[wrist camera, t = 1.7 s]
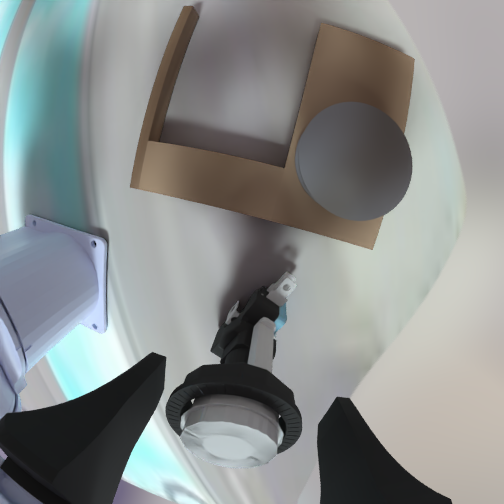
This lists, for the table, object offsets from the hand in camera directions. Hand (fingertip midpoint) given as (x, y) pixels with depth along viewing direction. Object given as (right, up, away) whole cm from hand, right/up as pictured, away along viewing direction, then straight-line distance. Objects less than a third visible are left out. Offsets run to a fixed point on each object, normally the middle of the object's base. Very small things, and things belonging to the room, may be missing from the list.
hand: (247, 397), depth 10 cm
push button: (+1, +2, +7) cm, 8 cm away
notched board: (+2, +14, +4) cm, 14 cm away
